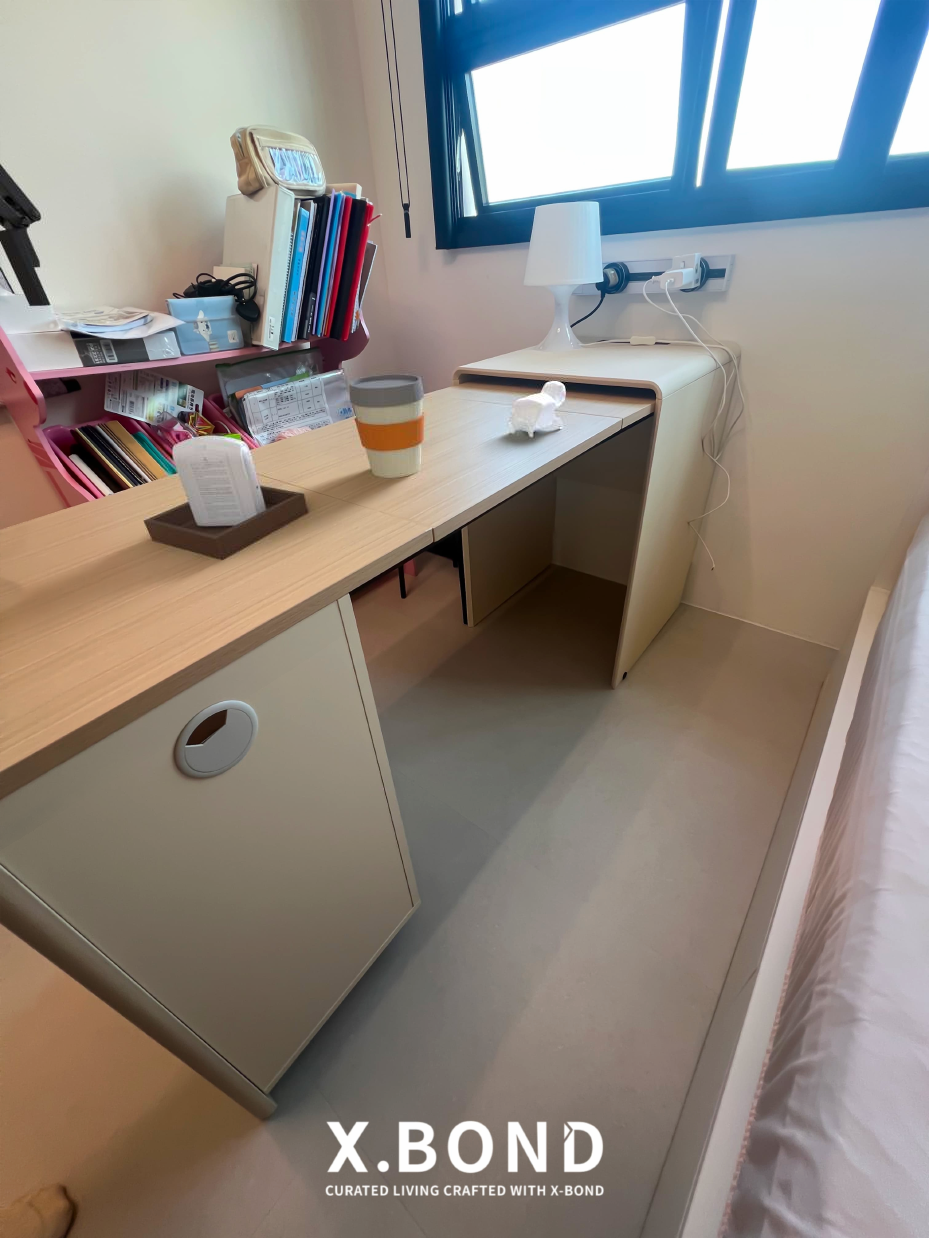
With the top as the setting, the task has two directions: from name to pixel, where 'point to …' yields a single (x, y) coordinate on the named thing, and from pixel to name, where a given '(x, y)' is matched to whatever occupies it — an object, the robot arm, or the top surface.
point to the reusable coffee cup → (390, 422)
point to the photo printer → (218, 480)
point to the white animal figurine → (538, 409)
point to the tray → (226, 540)
